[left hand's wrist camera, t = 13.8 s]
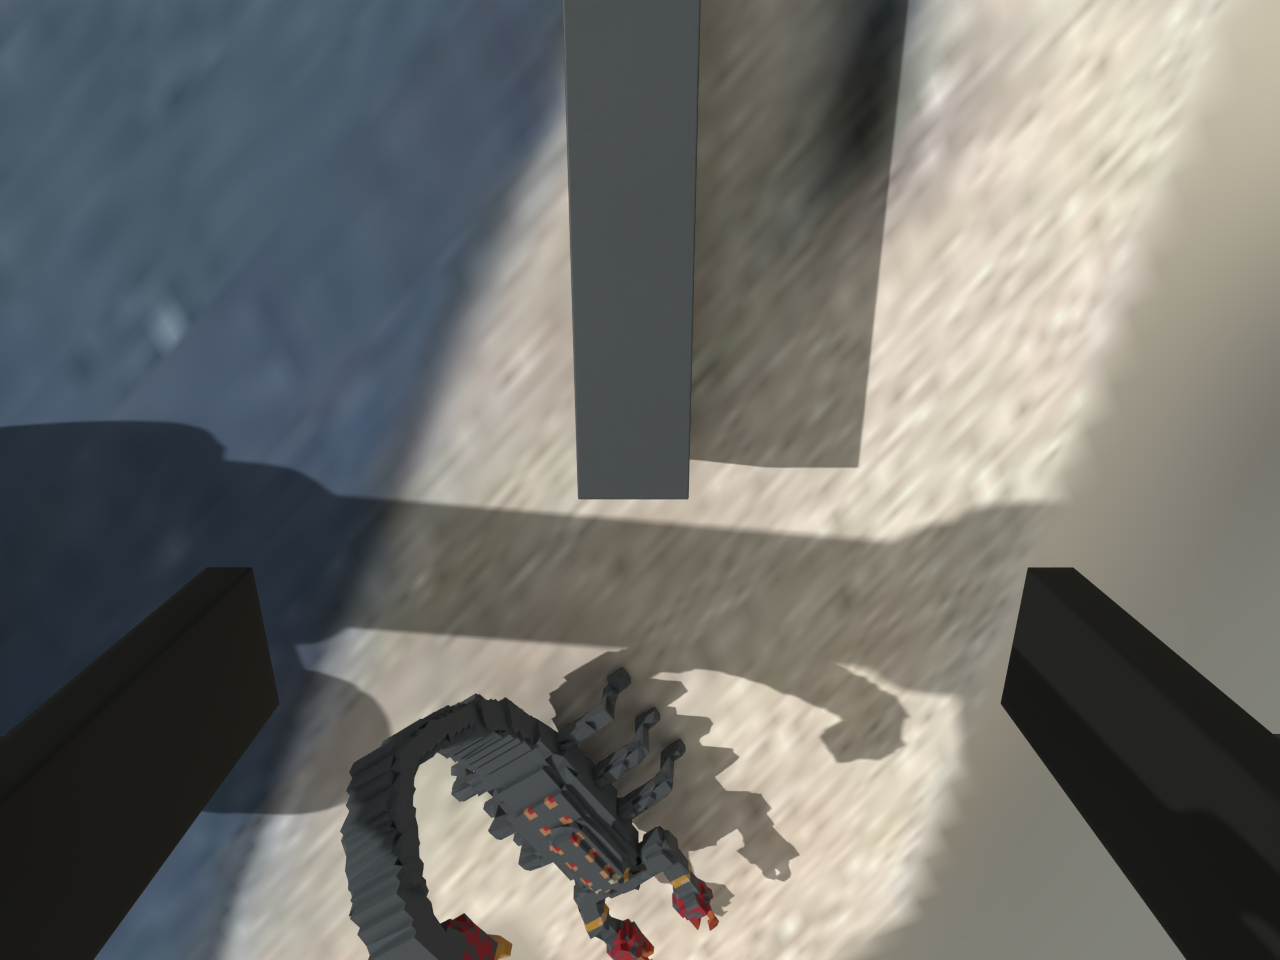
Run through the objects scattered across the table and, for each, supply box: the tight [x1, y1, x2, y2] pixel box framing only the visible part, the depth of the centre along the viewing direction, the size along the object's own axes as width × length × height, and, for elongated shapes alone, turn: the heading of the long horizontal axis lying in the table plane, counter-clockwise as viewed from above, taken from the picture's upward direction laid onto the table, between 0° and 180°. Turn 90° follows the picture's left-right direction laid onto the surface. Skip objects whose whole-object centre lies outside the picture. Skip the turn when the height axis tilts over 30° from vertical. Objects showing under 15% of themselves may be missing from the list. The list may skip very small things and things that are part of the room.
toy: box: [340, 668, 719, 960], centre depth 39 cm, size 13×27×18 cm, turn 34°
